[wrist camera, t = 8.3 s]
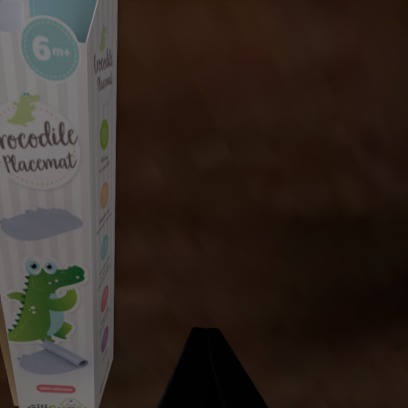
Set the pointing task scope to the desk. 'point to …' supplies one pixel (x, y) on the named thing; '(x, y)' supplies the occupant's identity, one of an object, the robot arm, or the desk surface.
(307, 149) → the desk surface
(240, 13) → the desk surface
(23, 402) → the box
